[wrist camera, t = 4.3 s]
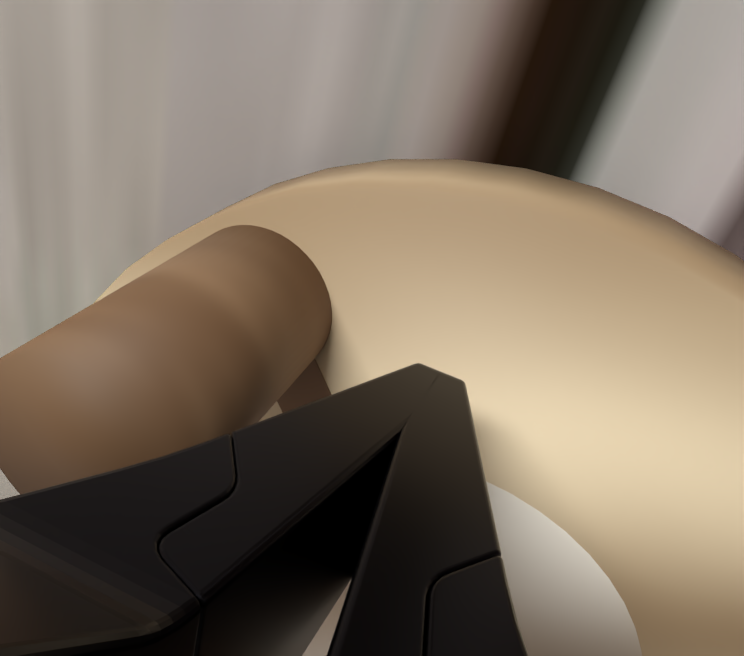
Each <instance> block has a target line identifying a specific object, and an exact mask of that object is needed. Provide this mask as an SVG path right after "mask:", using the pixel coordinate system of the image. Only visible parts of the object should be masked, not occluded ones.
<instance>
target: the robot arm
mask: <svg viewBox="0 0 744 656" xmlns="http://www.w3.org/2000/svg"><path fill="white" fill-rule="evenodd" d="M350 580H351V582H350ZM349 582H350V585H349V588H348V591H347V594H346V597H345V600H344V604H343V607H342V610H341V613H340V616H339V619H338V622H337V625H336V628H335V631H334V634H333V637H332V641H331V644H330V647H329V650H328V653H327V656H529V655H528V652H527V649H526V646H525V643H524V640H523V637H522V634H521V631H520V628H519V625H518V621H517V617H516V613H515V609H514V605H513V601H512V597H511V593H510V589H509V585H508V581H507V576H506V571H505V566H504V561H503V559H502V558H501V549H500V544H499V539H498V535H497V530H496V525H495V521H494V516H493V511H492V506H491V502H490V497H489V492H488V488H487V483H486V478H485V473H484V469H483V464H482V459H481V454H480V450H479V445H478V440H477V436H476V431H475V426H474V421H473V417H472V412H471V407H470V403H469V398H468V393H467V388H466V385H465V383H464V381H463V380H461V379H458V378H456V377H453V376H451V375H448V374H446V373H443V372H441V371H438V370H436V369H433V368H431V367H428V366H426V365H423V364H421V363H415V364H412V365H410V366H407V367H404V368H402V369H399V370H396V371H394V372H391V373H388V374H385V375H383V376H380V377H377V378H375V379H372V380H369V381H367V382H364V383H361V384H359V385H356V386H353V387H351V388H348V389H345V390H343V391H340V392H337V393H335V394H332V395H329V396H327V397H324V398H321V399H319V400H316V401H313V402H310V403H308V404H305V405H302V406H300V407H297V408H294V409H292V410H289V411H286V412H284V413H281V414H278V415H276V416H273V417H270V418H268V419H265V420H262V421H260V422H257V423H254V424H252V425H249V426H246V427H244V428H241V429H238V430H235V431H233V432H232V433H231V435H229V434H224V435H221V436H219V437H216V438H213V439H211V440H208V441H205V442H203V443H200V444H197V445H194V446H191V447H188V448H185V449H182V450H179V451H176V452H173V453H170V454H168V455H165V456H161V457H158V458H154V459H151V460H147V461H144V462H140V463H137V464H134V465H130V466H127V467H123V468H120V469H116V470H112V471H108V472H105V473H101V474H97V475H93V476H89V477H85V478H82V479H78V480H74V481H70V482H66V483H63V484H59V485H55V486H51V487H47V488H44V489H40V490H36V491H32V492H28V493H24V494H21V495H17V496H13V497H9V498H5V499H2V500H0V656H302V655H303V654H304V652H305V650H306V649H307V647H308V646H309V644H310V643H311V641H312V640H313V638H314V636H315V635H316V633H317V632H318V630H319V629H320V627H321V625H322V624H323V622H324V621H325V619H326V618H327V616H328V615H329V613H330V611H331V610H332V608H333V607H334V605H335V604H336V602H337V601H338V599H339V597H340V596H341V594H342V593H343V591H344V590H345V588H346V586H347V585H348V583H349Z"/></svg>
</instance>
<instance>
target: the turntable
mask: <svg viewBox="0 0 744 656" xmlns="http://www.w3.org/2000/svg"><path fill="white" fill-rule="evenodd" d="M415 363H421V364H423V365H426V366H428V367H431V368H433V369H436V370H438V371H441V372H443V373H446V374H448V375H451V376H453V377H456V378H458V379H461V380H463V381H464V383H465V385H466V388H467V393H468V398H469V403H470V407H471V412H472V417H473V421H474V426H475V431H476V436H477V440H478V445H479V450H480V454H481V459H482V464H483V469H484V473H485V478H486V483H487V488H488V492H489V497H490V502H491V506H492V511H493V516H494V521H495V525H496V530H497V535H498V539H499V544H500V549H501V558H502V559H503V561H504V566H505V571H506V576H507V581H508V585H509V589H510V593H511V597H512V601H513V605H514V609H515V613H516V617H517V621H518V625H519V628H520V631H521V634H522V637H523V640H524V643H525V646H526V649H527V652H528V655H529V656H744V261H743V260H742V259H740V258H739V257H738V256H736V255H735V254H733V253H731V252H729V251H728V250H726V249H724V248H722V247H721V246H719V245H717V244H715V243H714V242H712V241H710V240H708V239H707V238H705V237H703V236H701V235H700V234H698V233H696V232H694V231H693V230H691V229H689V228H687V227H686V226H684V225H682V224H680V223H679V222H677V221H675V220H673V219H672V218H670V217H668V216H665V215H663V214H660V213H658V212H656V211H653V210H651V209H648V208H646V207H643V206H641V205H639V204H636V203H634V202H631V201H629V200H626V199H624V198H622V197H619V196H617V195H614V194H612V193H609V192H607V191H605V190H602V189H600V188H597V187H593V186H589V185H586V184H582V183H578V182H574V181H571V180H567V179H563V178H559V177H556V176H552V175H548V174H545V173H541V172H537V171H533V170H530V169H526V168H518V167H510V166H503V165H495V164H488V163H480V162H473V161H465V160H458V159H389V160H382V161H375V162H368V163H361V164H354V165H347V166H340V167H333V168H327V169H324V170H321V171H317V172H314V173H311V174H307V175H304V176H301V177H297V178H294V179H291V180H287V181H284V182H280V183H277V184H274V185H272V186H270V187H268V188H266V189H264V190H262V191H260V192H257V193H255V194H253V195H251V196H249V197H247V198H245V199H243V200H241V201H239V202H237V203H235V204H232V205H230V206H228V207H226V208H225V209H223V210H221V211H219V212H217V213H215V214H214V215H212V216H210V217H208V218H206V219H204V220H203V221H201V222H199V223H197V224H195V225H193V226H191V227H190V228H188V229H186V230H184V231H182V232H180V233H179V234H177V235H175V236H173V237H171V238H169V239H168V240H166V241H165V242H163V243H162V244H161V245H159V246H158V247H156V248H155V249H154V250H152V251H151V252H149V253H148V254H147V255H145V256H144V257H142V258H141V259H140V260H138V261H137V262H135V263H134V264H133V265H131V266H130V267H128V268H127V269H126V270H125V271H124V272H123V273H122V274H121V275H120V276H119V277H118V278H117V279H116V280H115V281H114V282H113V283H112V284H111V285H110V286H109V287H108V289H107V290H106V291H105V292H104V293H103V294H102V295H101V296H100V297H99V298H98V299H97V300H96V301H95V302H94V304H92V305H90V306H89V307H87V308H85V309H84V310H82V311H80V312H78V313H77V314H75V315H73V316H72V317H70V318H68V319H66V320H65V321H63V322H61V323H60V324H58V325H56V326H55V327H53V328H51V329H49V330H48V331H46V332H44V333H43V334H41V335H39V336H37V337H36V338H34V339H32V340H31V341H29V342H27V343H25V344H24V345H22V346H20V347H19V348H17V349H15V350H14V351H12V352H10V353H8V354H7V355H5V356H3V357H2V358H0V469H1V470H2V471H3V473H4V474H5V476H6V477H7V479H8V480H9V481H10V482H11V484H12V485H13V486H14V487H15V489H16V490H17V491H18V492H19V493H20V494H24V493H28V492H32V491H36V490H40V489H44V488H47V487H51V486H55V485H59V484H63V483H66V482H70V481H74V480H78V479H82V478H85V477H89V476H93V475H97V474H101V473H105V472H108V471H112V470H116V469H120V468H123V467H127V466H130V465H134V464H137V463H140V462H144V461H147V460H151V459H154V458H158V457H161V456H165V455H168V454H170V453H173V452H176V451H179V450H182V449H185V448H188V447H191V446H194V445H197V444H200V443H203V442H205V441H208V440H211V439H213V438H216V437H219V436H221V435H224V434H229V435H231V433H232V432H233V431H235V430H238V429H241V428H244V427H246V426H249V425H252V424H254V423H257V422H260V421H262V420H265V419H268V418H270V417H273V416H276V415H278V414H281V413H284V412H286V411H289V410H292V409H294V408H297V407H300V406H302V405H305V404H308V403H310V402H313V401H316V400H319V399H321V398H324V397H327V396H329V395H332V394H335V393H337V392H340V391H343V390H345V389H348V388H351V387H353V386H356V385H359V384H361V383H364V382H367V381H369V380H372V379H375V378H377V377H380V376H383V375H385V374H388V373H391V372H394V371H396V370H399V369H402V368H404V367H407V366H410V365H412V364H415ZM350 582H351V580H350ZM350 582H349V583H348V585H347V586H346V588H345V590H344V591H343V593H342V594H341V596H340V597H339V599H338V601H337V602H336V604H335V605H334V607H333V608H332V610H331V611H330V613H329V615H328V616H327V618H326V619H325V621H324V622H323V624H322V625H321V627H320V629H319V630H318V632H317V633H316V635H315V636H314V638H313V640H312V641H311V643H310V644H309V646H308V647H307V649H306V650H305V652H304V654H303V655H302V656H327V653H328V650H329V647H330V644H331V641H332V637H333V634H334V631H335V628H336V625H337V622H338V619H339V616H340V613H341V610H342V607H343V604H344V600H345V597H346V594H347V591H348V588H349V585H350Z"/></svg>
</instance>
